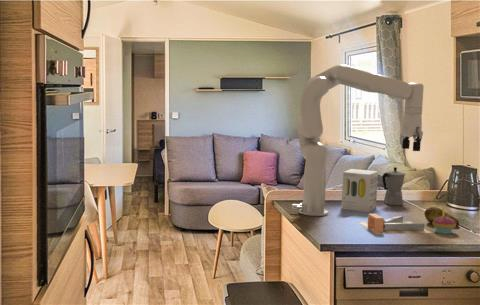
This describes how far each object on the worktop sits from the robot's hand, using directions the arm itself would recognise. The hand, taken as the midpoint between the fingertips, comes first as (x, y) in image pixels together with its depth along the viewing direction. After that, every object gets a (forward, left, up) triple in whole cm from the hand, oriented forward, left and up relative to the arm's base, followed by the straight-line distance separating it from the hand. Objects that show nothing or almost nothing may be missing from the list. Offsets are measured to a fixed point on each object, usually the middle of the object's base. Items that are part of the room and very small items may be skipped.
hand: (410, 149), depth 241 cm
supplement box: (-18, +13, -29) cm, 37 cm away
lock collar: (-29, -32, -28) cm, 51 cm away
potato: (+2, -25, -29) cm, 39 cm away
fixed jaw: (-18, -32, -28) cm, 46 cm away
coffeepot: (+3, +23, -29) cm, 37 cm away
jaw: (-19, -26, -28) cm, 42 cm away
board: (-19, -28, -29) cm, 45 cm away
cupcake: (-3, -36, -29) cm, 47 cm away
